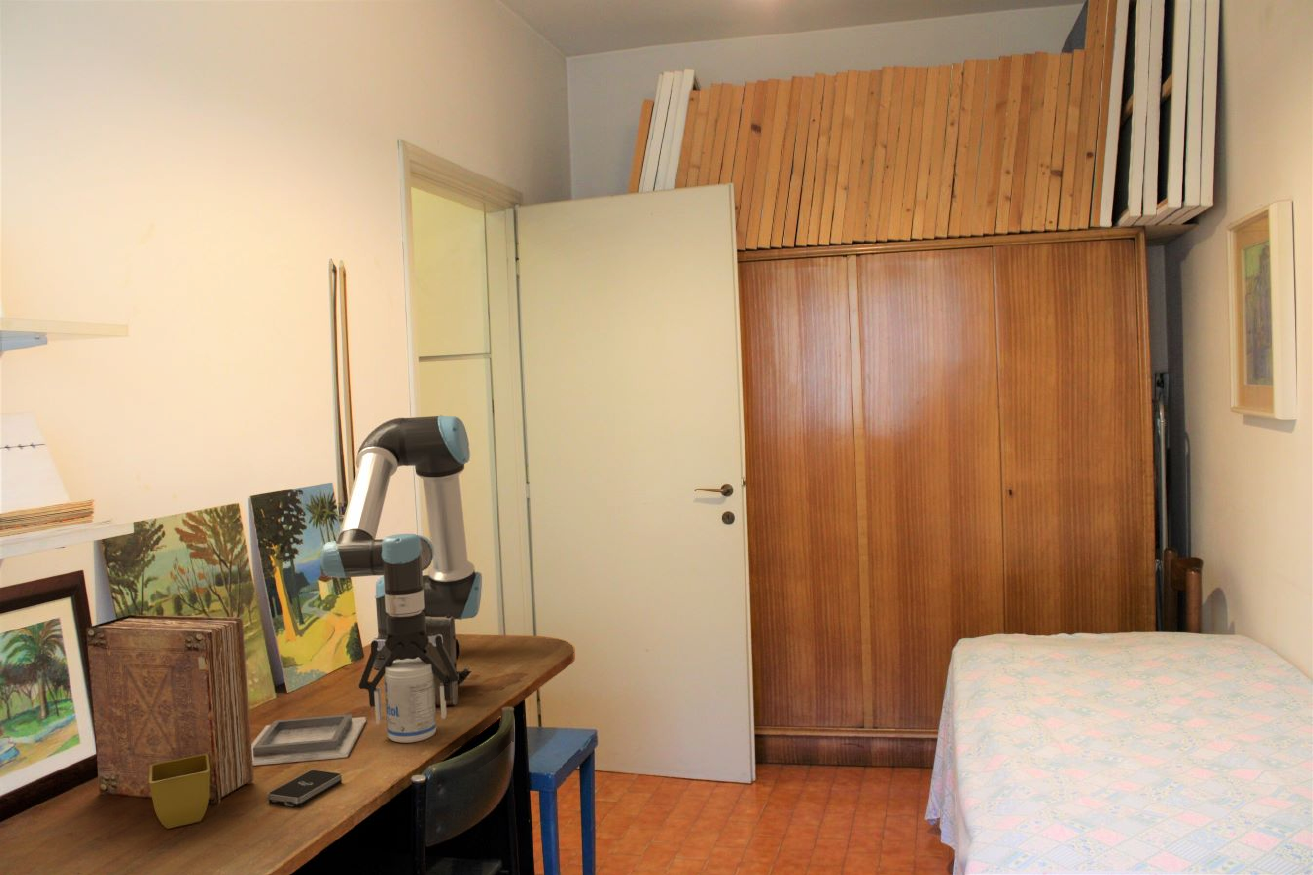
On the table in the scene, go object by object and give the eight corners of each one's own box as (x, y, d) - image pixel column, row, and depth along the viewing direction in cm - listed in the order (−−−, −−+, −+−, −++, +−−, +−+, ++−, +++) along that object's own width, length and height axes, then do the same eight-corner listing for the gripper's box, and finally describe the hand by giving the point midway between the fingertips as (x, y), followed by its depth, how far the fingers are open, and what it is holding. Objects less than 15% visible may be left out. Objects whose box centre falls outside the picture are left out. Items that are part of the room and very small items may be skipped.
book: (255, 783, 171) (244, 617, 169) (218, 805, 162) (206, 631, 160) (139, 773, 177) (128, 614, 176) (98, 794, 169) (86, 626, 167)
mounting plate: (266, 729, 198) (266, 717, 198) (365, 721, 201) (365, 709, 201) (237, 767, 178) (236, 753, 178) (347, 757, 181) (346, 743, 181)
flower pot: (152, 838, 150) (148, 782, 150) (153, 817, 158) (149, 763, 158) (213, 824, 154) (210, 770, 154) (211, 804, 162) (208, 752, 162)
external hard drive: (267, 805, 162) (266, 793, 162) (313, 779, 172) (312, 768, 172) (299, 810, 159) (298, 798, 159) (344, 783, 169) (343, 772, 169)
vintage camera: (475, 687, 222) (470, 602, 222) (455, 707, 207) (449, 616, 207) (435, 688, 223) (430, 604, 223) (412, 708, 208) (406, 617, 208)
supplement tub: (378, 737, 191) (374, 665, 190) (417, 723, 198) (413, 654, 197) (407, 748, 184) (402, 673, 184) (446, 733, 192) (442, 661, 191)
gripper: (338, 621, 185) (345, 730, 186) (466, 612, 188) (471, 719, 189) (346, 612, 192) (352, 717, 193) (468, 603, 195) (474, 707, 196)
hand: (411, 718), depth 191 cm, fingers open, 12 cm apart
